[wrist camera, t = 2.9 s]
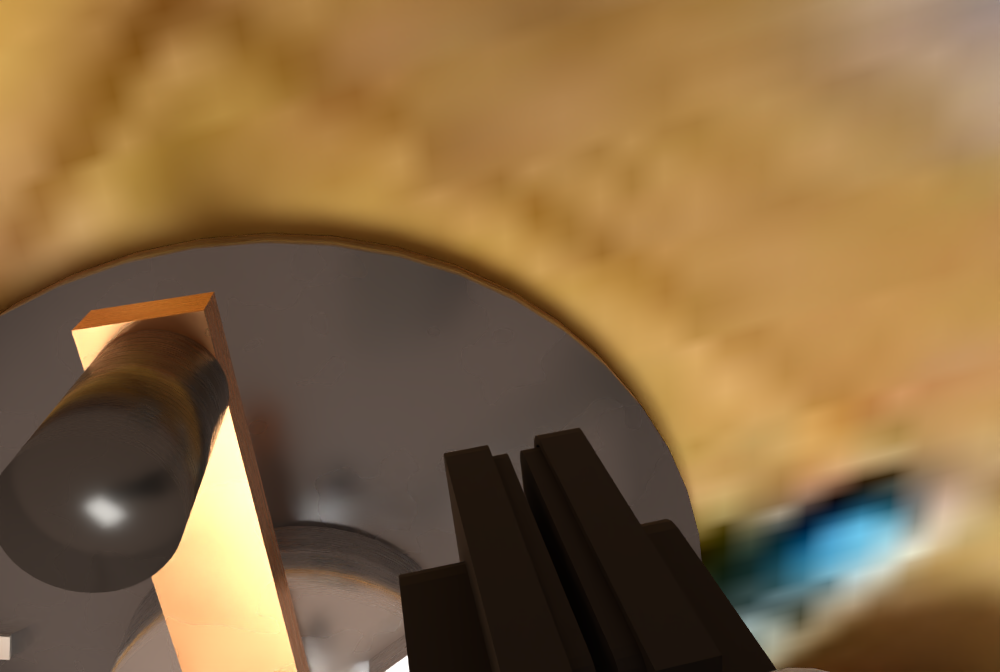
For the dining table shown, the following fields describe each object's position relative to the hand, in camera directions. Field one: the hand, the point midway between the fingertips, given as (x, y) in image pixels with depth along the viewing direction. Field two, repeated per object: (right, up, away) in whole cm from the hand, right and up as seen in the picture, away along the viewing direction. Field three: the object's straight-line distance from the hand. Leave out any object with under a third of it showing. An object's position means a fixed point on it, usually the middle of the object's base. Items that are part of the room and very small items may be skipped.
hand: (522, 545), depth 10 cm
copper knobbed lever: (-7, -4, +13) cm, 15 cm away
